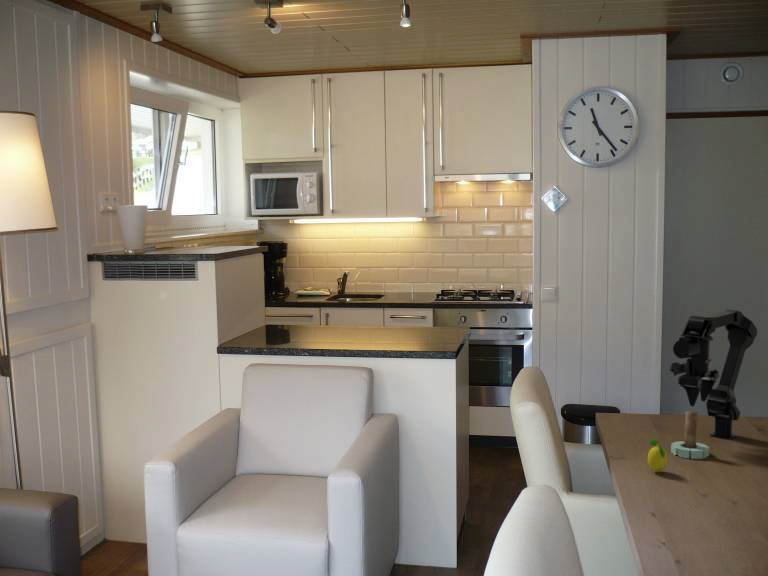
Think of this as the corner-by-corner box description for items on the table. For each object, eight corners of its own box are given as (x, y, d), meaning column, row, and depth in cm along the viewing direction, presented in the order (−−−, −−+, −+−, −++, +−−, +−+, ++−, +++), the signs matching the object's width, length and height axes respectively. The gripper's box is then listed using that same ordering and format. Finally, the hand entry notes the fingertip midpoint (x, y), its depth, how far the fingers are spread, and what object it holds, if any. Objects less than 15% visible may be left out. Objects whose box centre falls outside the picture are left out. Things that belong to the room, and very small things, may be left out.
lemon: (649, 467, 242) (650, 433, 241) (669, 470, 239) (671, 436, 238) (643, 473, 236) (644, 439, 235) (664, 477, 233) (665, 442, 232)
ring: (679, 447, 262) (680, 439, 262) (713, 453, 256) (713, 445, 255) (666, 454, 255) (666, 446, 254) (700, 461, 248) (700, 452, 248)
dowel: (689, 451, 257) (690, 410, 256) (698, 454, 254) (699, 412, 253) (681, 453, 256) (683, 411, 255) (690, 456, 253) (691, 414, 252)
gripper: (686, 349, 276) (684, 395, 278) (662, 356, 263) (661, 404, 264) (720, 352, 269) (718, 400, 270) (697, 360, 255) (696, 410, 257)
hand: (697, 403), depth 266 cm, fingers open, 9 cm apart
